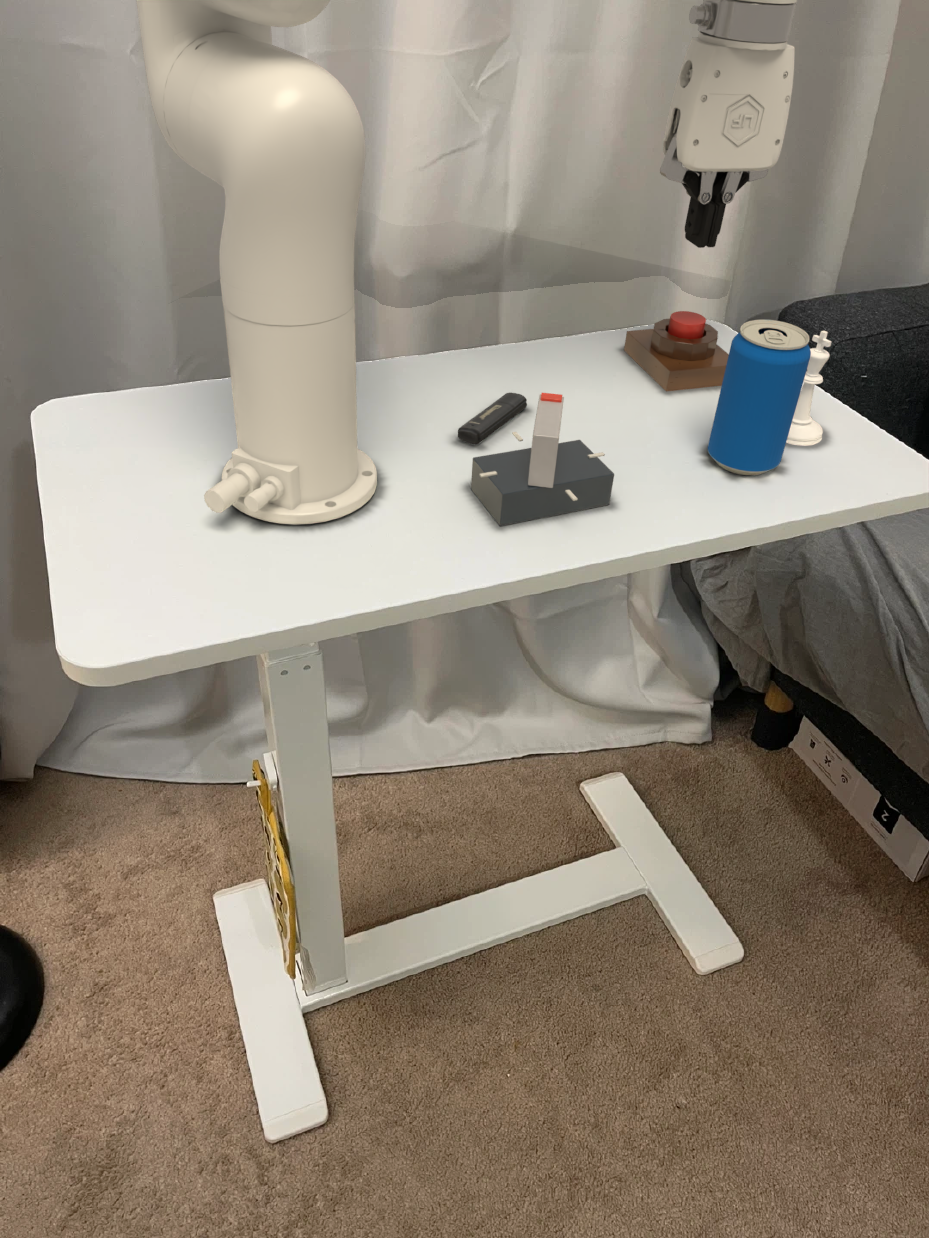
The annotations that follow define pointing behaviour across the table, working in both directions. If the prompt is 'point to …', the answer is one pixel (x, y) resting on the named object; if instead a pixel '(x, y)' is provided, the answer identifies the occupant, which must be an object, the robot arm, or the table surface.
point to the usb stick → (492, 418)
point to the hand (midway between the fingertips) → (699, 242)
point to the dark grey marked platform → (515, 501)
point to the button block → (678, 357)
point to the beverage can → (759, 396)
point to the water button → (686, 325)
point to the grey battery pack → (545, 440)
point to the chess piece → (809, 397)
